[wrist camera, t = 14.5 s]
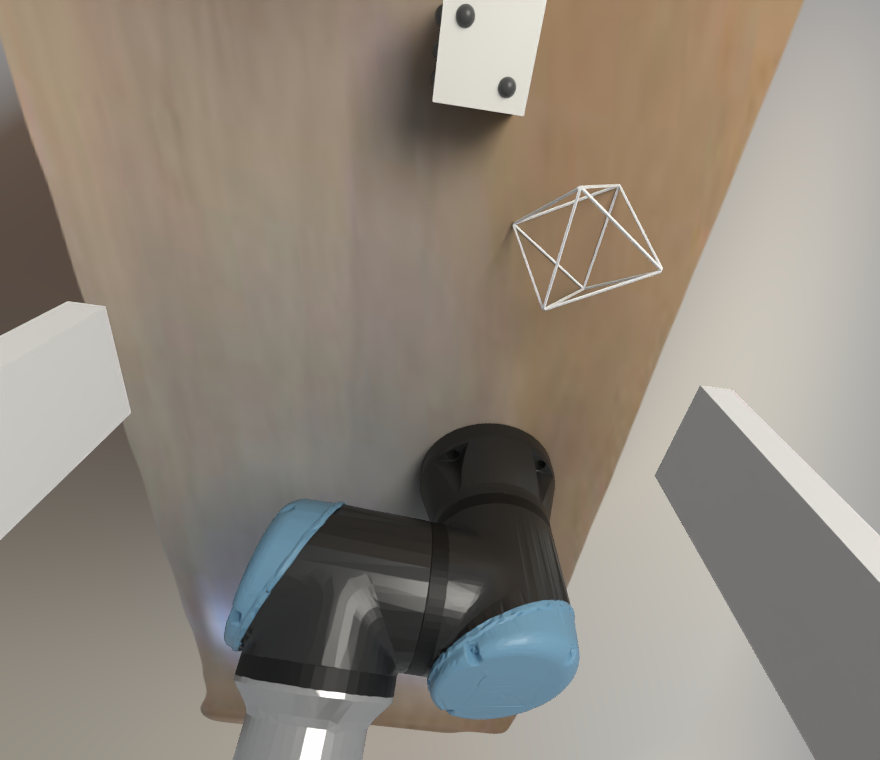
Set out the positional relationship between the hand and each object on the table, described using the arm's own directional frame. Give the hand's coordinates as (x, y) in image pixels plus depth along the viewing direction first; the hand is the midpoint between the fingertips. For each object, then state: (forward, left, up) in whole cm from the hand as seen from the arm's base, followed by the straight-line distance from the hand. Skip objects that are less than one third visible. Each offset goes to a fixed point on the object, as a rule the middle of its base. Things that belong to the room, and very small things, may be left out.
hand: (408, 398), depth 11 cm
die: (+9, -2, -32) cm, 33 cm away
